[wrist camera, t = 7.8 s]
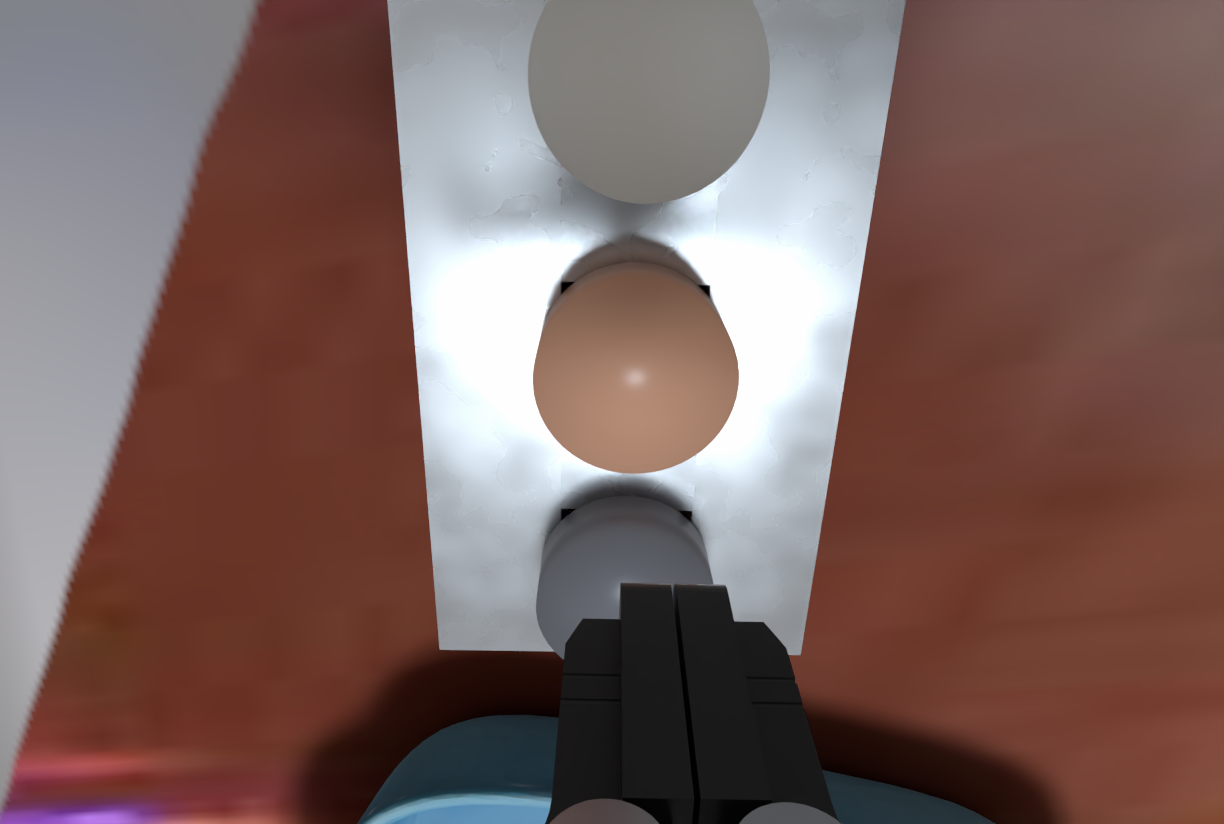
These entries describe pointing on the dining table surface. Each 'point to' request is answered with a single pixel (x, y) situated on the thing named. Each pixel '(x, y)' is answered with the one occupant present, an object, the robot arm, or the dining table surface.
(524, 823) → the casserole dish
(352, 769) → the dining table surface
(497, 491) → the mount
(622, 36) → the grey oval piece
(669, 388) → the tan egg
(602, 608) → the knob
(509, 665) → the dining table surface
